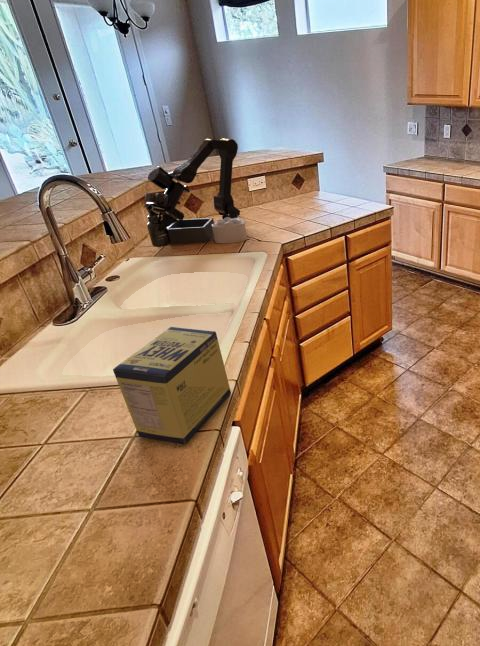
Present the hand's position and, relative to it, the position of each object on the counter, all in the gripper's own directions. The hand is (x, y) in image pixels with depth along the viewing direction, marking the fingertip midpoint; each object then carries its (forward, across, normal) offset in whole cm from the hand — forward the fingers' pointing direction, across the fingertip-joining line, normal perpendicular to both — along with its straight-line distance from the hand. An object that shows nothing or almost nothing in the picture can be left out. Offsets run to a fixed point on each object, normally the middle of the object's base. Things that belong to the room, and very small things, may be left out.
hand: (154, 229), depth 170 cm
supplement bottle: (+4, 0, +6) cm, 7 cm away
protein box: (+44, +99, -32) cm, 113 cm away
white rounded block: (-10, +13, +24) cm, 29 cm away
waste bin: (-6, -3, +18) cm, 19 cm away
